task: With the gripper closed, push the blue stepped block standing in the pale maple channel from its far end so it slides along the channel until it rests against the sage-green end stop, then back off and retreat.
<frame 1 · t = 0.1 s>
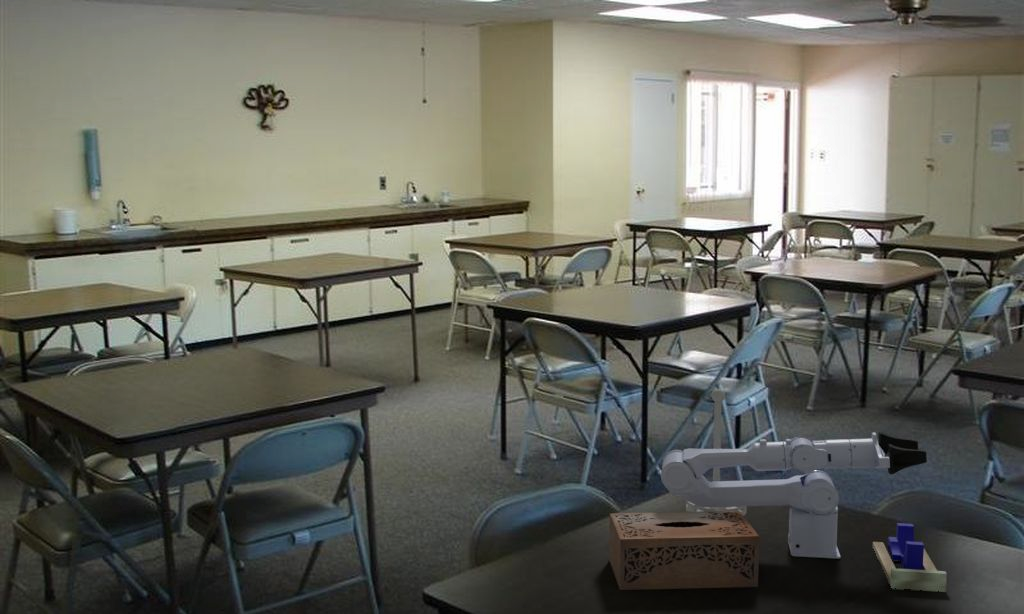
hand: (921, 451, 205), 22 cm above the table, tool horizontal, fingers open, 7 cm apart
channel: (906, 567, 202), on the table
tissue box cover: (681, 575, 200), on the table
blue stepped block: (904, 563, 205), resting in channel
flag stand: (715, 524, 228), on the table
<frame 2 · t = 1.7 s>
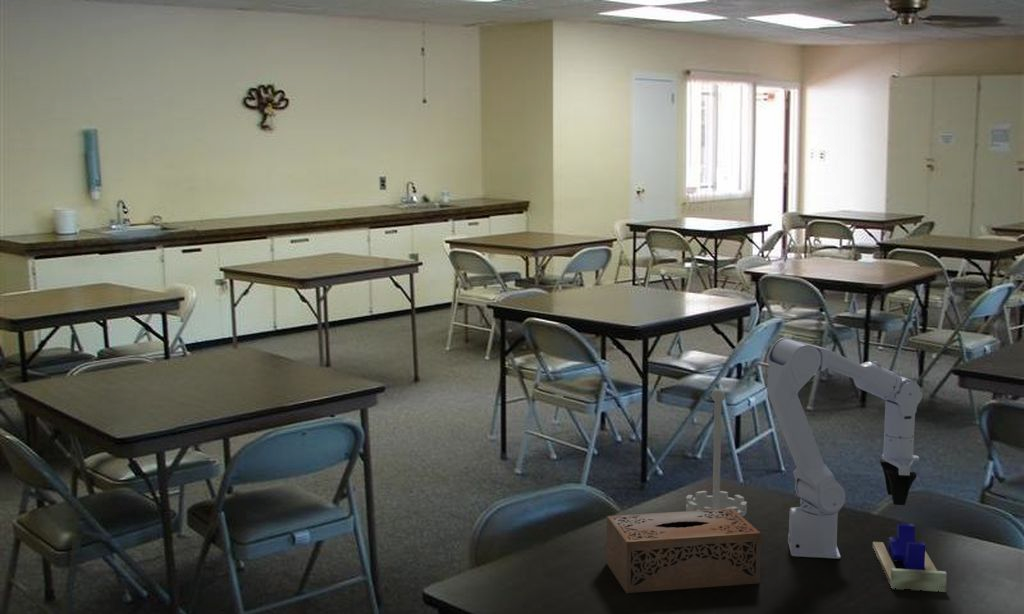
hand: (896, 499, 214), 9 cm above the table, tool pointing down, fingers open, 6 cm apart
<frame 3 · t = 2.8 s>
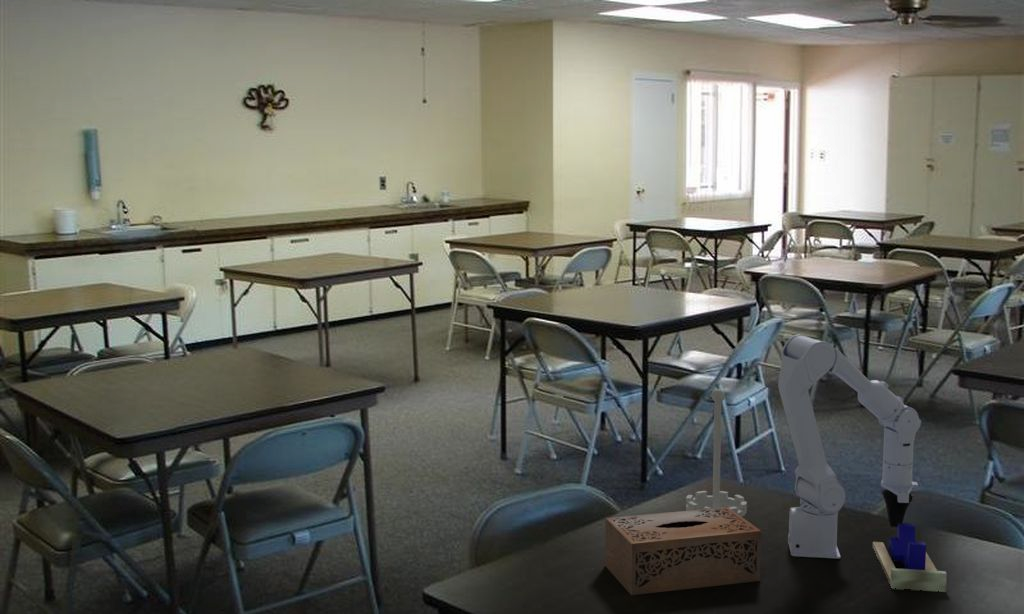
hand: (895, 525, 214), 4 cm above the table, tool pointing down, fingers closed
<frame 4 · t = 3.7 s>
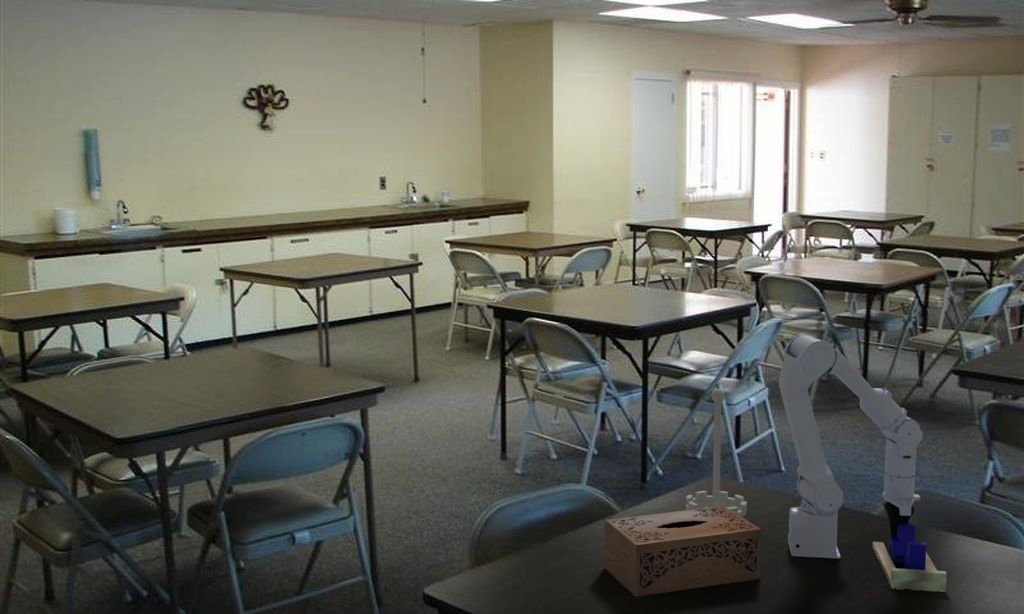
hand: (896, 538, 212), 2 cm above the table, tool pointing down, fingers closed
blue stepped block: (906, 563, 205), resting in channel, touching gripper
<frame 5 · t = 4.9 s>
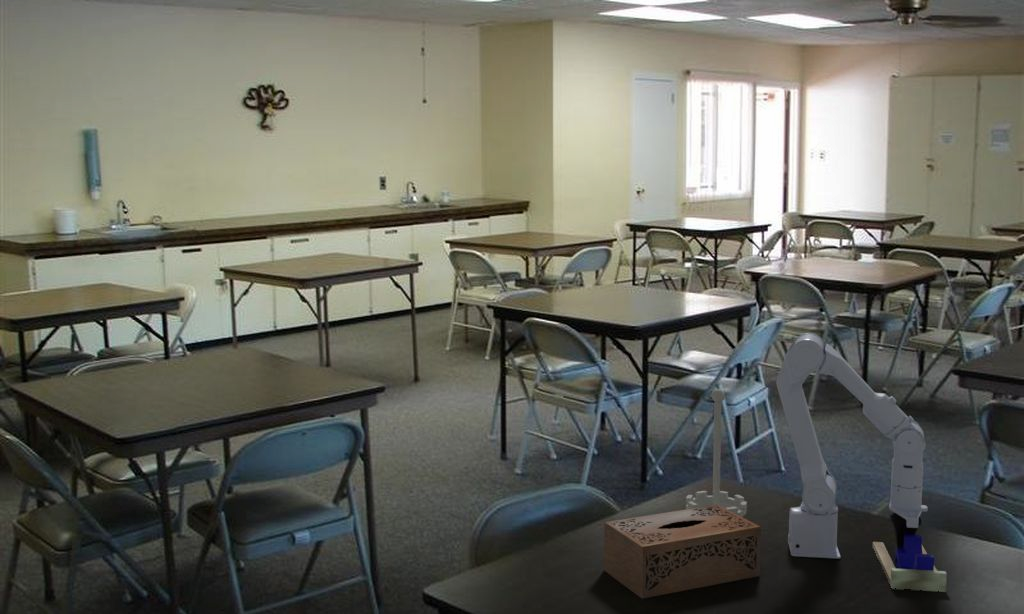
hand: (903, 550, 205), 2 cm above the table, tool pointing down, fingers closed
blue stepped block: (913, 576, 198), resting in channel, touching gripper
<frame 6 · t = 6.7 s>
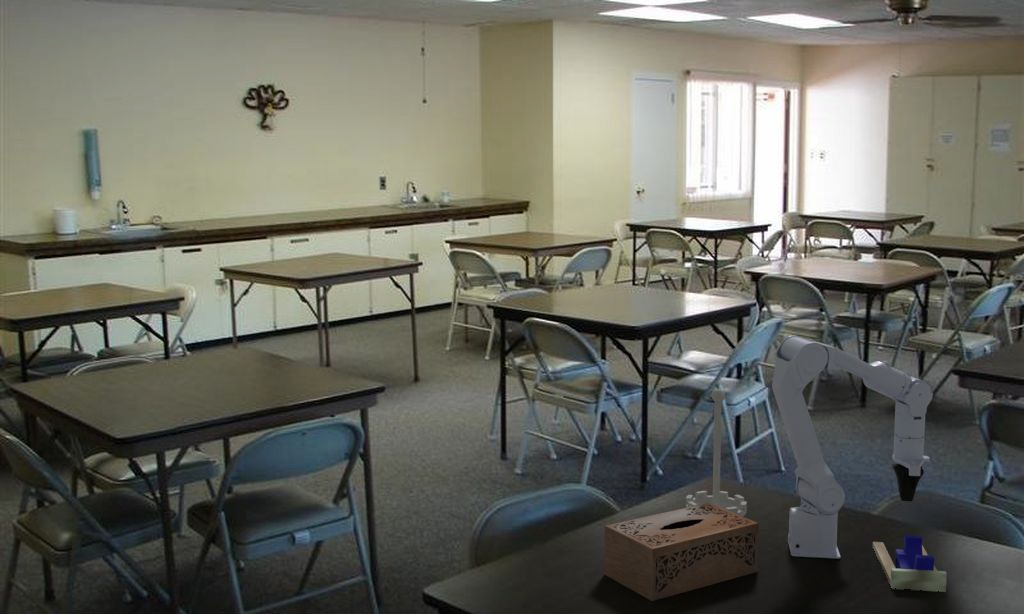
hand: (906, 500, 213), 9 cm above the table, tool pointing down, fingers closed
blue stepped block: (913, 577, 198), resting in channel
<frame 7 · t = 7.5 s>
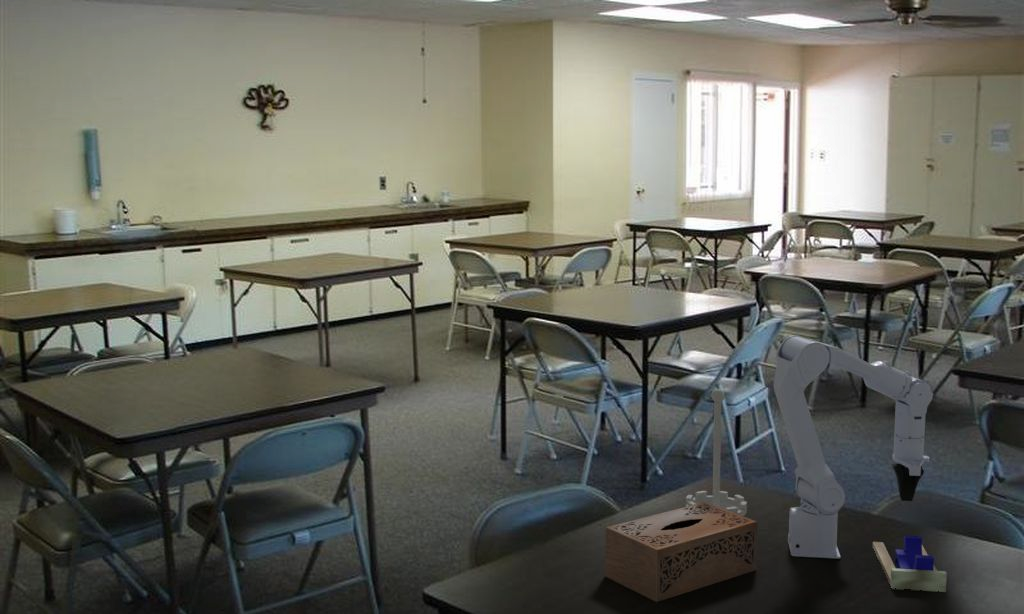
hand: (906, 499, 213), 9 cm above the table, tool pointing down, fingers closed
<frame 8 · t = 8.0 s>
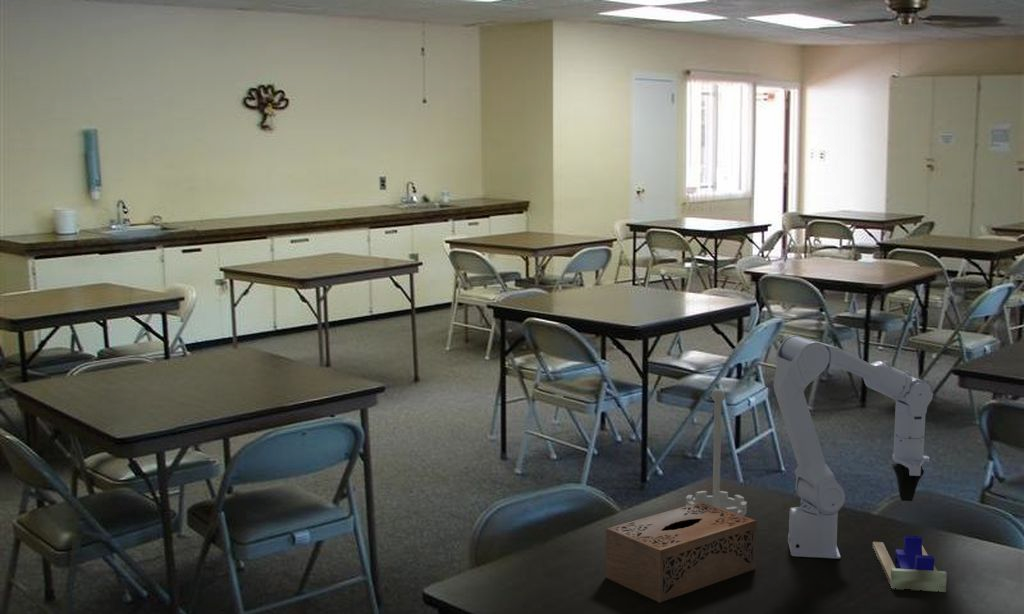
hand: (906, 499, 213), 9 cm above the table, tool pointing down, fingers closed
at the end: blue stepped block 0.5 cm from the target spot, resting in channel; the gripper is holding nothing; blue stepped block tilted 0° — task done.
